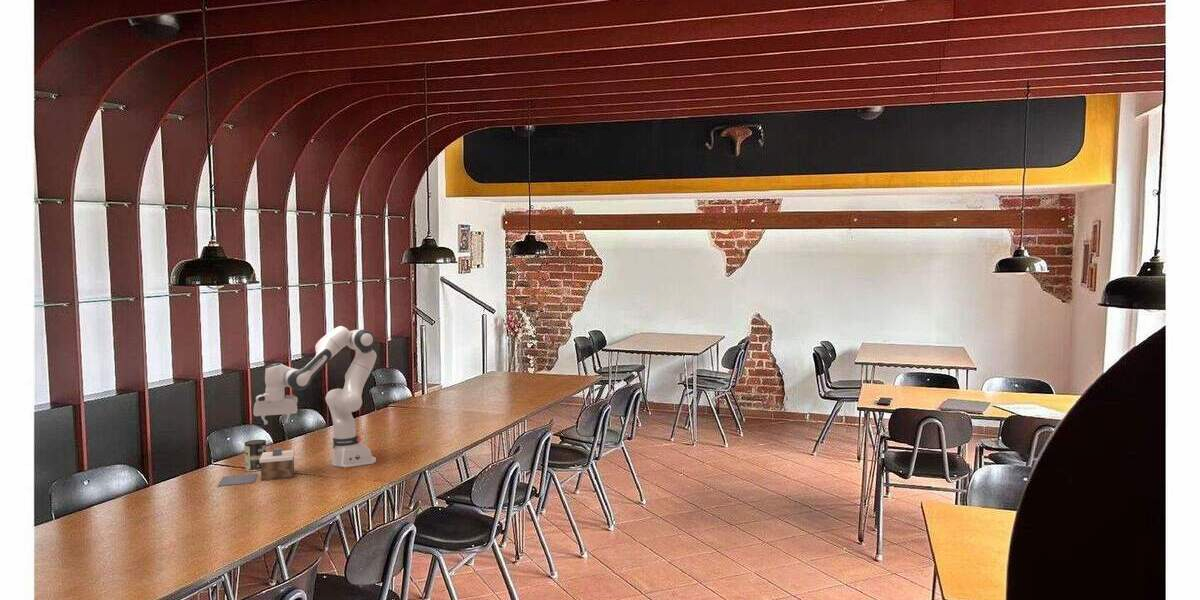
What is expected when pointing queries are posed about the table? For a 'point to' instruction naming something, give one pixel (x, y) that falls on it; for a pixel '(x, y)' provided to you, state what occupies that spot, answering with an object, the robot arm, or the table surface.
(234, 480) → the mat
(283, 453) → the lid
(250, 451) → the coffee can
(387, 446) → the table surface
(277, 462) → the storage box
